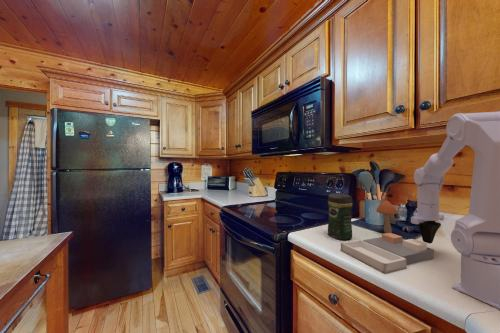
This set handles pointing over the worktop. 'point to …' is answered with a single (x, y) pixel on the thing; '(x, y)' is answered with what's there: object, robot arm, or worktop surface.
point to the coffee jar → (340, 216)
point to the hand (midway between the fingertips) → (427, 242)
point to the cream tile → (415, 245)
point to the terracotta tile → (392, 238)
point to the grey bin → (374, 256)
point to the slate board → (403, 250)
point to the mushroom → (386, 214)
